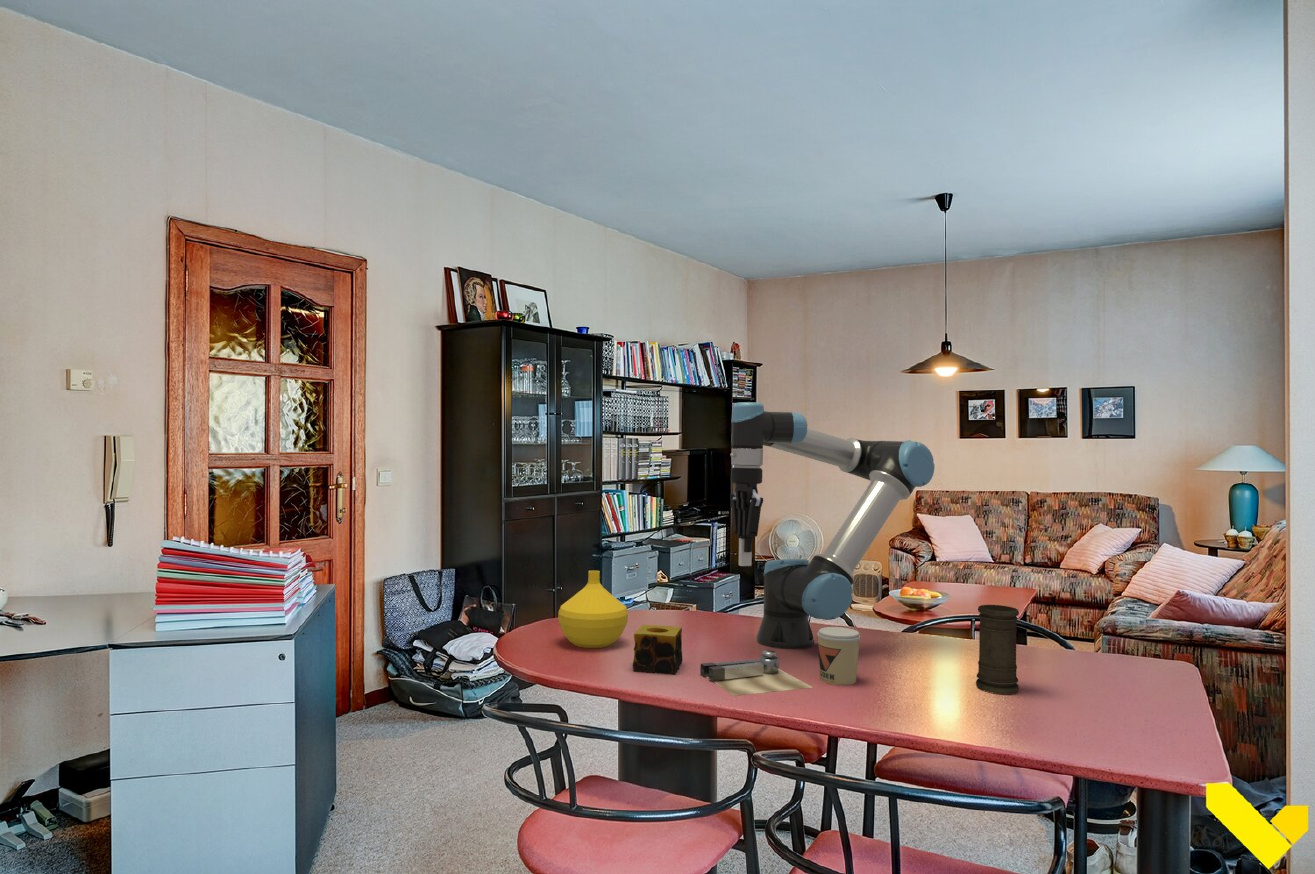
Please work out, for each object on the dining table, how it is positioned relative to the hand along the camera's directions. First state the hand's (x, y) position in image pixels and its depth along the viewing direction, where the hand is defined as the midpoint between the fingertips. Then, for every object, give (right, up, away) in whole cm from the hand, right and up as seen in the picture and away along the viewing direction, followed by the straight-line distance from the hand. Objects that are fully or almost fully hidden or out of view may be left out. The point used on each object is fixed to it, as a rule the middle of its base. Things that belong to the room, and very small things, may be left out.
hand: (745, 565), depth 195 cm
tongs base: (-2, -23, -10) cm, 25 cm away
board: (+1, -24, -15) cm, 28 cm away
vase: (-38, -24, +20) cm, 49 cm away
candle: (-21, -24, -6) cm, 32 cm away
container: (+55, -26, -13) cm, 62 cm away
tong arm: (-2, -23, -11) cm, 26 cm away
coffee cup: (+19, -25, -13) cm, 34 cm away
